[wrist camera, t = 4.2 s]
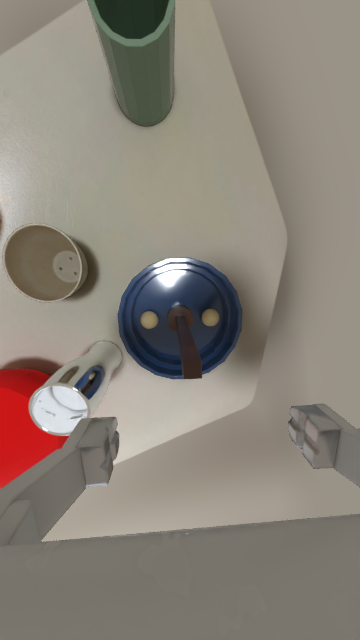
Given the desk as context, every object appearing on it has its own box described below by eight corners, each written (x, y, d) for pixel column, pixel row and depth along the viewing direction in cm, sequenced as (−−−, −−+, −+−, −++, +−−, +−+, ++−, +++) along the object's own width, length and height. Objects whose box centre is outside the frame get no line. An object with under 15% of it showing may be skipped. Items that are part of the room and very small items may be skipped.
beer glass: (130, 364, 36) (103, 423, 21) (97, 379, 36) (48, 446, 22) (113, 332, 35) (71, 371, 20) (78, 347, 35) (12, 397, 20)
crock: (172, 56, 27) (173, -71, 17) (174, 126, 29) (176, 47, 19) (113, 55, 27) (79, -75, 17) (118, 126, 28) (91, 45, 19)
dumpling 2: (217, 307, 34) (221, 309, 31) (216, 323, 35) (221, 327, 32) (200, 307, 34) (203, 310, 31) (200, 324, 35) (203, 328, 32)
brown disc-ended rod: (191, 304, 34) (222, 340, 14) (192, 328, 35) (221, 395, 15) (166, 305, 34) (161, 343, 14) (167, 329, 34) (164, 398, 15)
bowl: (233, 259, 33) (244, 256, 28) (230, 363, 37) (239, 376, 32) (120, 262, 32) (111, 259, 27) (130, 368, 36) (124, 382, 31)
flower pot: (26, 250, 31) (-15, 241, 24) (82, 225, 31) (57, 210, 24) (58, 306, 33) (28, 313, 26) (111, 284, 33) (95, 285, 26)
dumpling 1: (158, 309, 34) (157, 312, 31) (159, 326, 34) (158, 330, 31) (141, 310, 33) (138, 313, 31) (142, 326, 34) (139, 331, 31)
